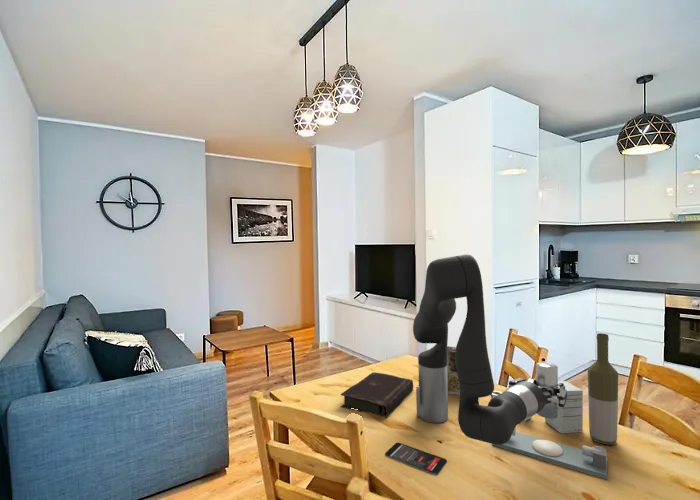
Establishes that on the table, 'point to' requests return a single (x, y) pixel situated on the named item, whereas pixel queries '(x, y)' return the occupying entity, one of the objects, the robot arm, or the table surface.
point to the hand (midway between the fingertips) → (550, 383)
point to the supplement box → (569, 411)
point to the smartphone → (416, 458)
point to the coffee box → (452, 372)
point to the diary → (377, 393)
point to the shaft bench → (560, 453)
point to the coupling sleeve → (545, 377)
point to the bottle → (603, 395)
